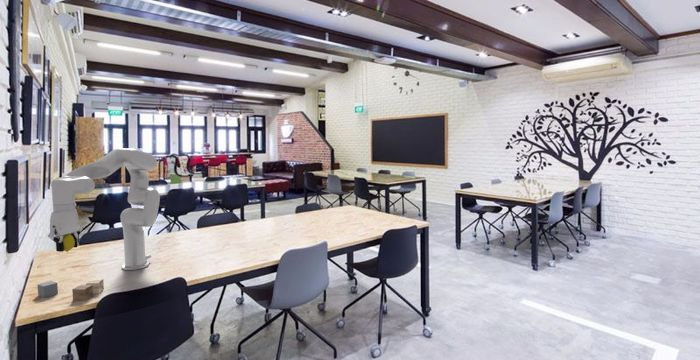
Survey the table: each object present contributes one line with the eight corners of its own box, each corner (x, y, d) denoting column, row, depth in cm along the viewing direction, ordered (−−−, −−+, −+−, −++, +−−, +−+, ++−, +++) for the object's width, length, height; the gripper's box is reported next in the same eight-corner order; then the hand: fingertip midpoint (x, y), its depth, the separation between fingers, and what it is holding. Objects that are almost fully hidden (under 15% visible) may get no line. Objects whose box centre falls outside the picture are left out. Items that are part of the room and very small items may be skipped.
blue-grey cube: (51, 291, 166) (50, 280, 165) (57, 293, 164) (57, 282, 163) (38, 295, 161) (37, 284, 161) (44, 297, 159) (43, 286, 159)
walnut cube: (81, 295, 161) (81, 284, 161) (93, 296, 161) (92, 284, 161) (72, 300, 156) (72, 289, 156) (84, 300, 156) (84, 289, 156)
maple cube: (91, 290, 168) (90, 279, 167) (103, 289, 169) (103, 278, 169) (86, 294, 163) (85, 283, 162) (99, 293, 164) (98, 282, 164)
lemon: (57, 252, 160) (56, 233, 160) (72, 249, 165) (71, 231, 164) (61, 254, 157) (60, 235, 156) (77, 251, 161) (76, 233, 161)
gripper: (75, 204, 168) (77, 243, 170) (36, 210, 151) (40, 254, 153) (89, 204, 167) (91, 244, 168) (52, 211, 150) (55, 255, 152)
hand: (67, 248), depth 161 cm, fingers closed on lemon, 5 cm apart
